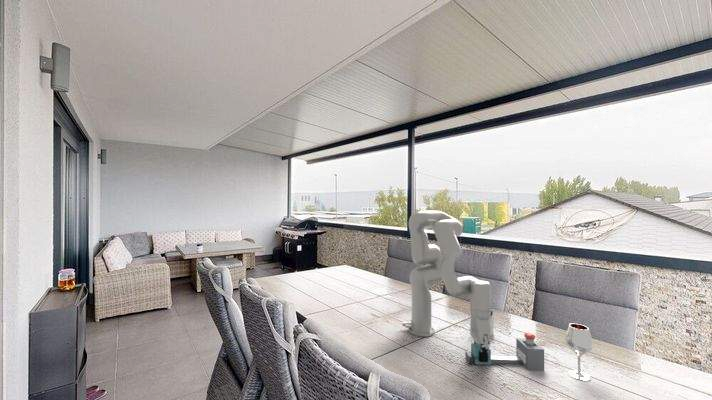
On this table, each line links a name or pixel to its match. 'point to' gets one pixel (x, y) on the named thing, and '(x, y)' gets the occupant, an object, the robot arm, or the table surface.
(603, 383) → the table surface
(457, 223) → the robot arm
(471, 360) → the rail
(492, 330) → the jar
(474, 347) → the carriage
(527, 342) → the plunger
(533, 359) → the housing
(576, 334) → the wineglass
